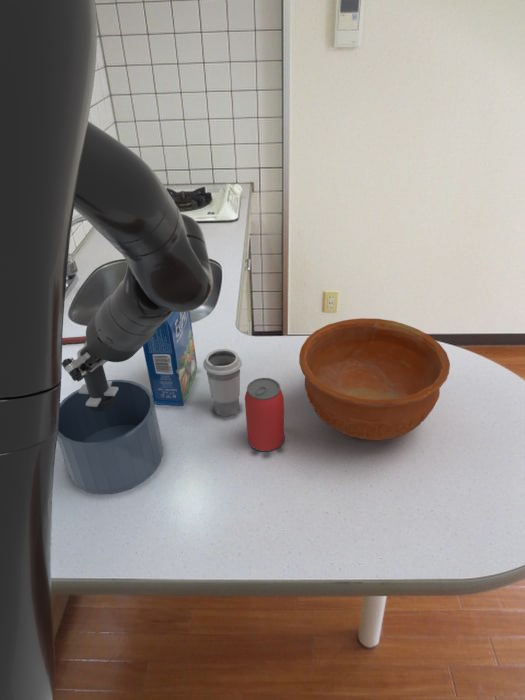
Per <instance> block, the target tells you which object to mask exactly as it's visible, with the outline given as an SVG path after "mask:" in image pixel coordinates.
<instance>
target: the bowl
mask: <svg viewBox="0 0 525 700" xmlns="http://www.w3.org/2000/svg"><path fill="white" fill-rule="evenodd" d="M298 360H299V361H298V362H299V363H298V364H299V367H300V371H301V373H302V374H303V376H304V389H305V393H306V396H307V399H308V401H309V404H310V405H311V407H312V408H313V409H314V412H315V413H316V414H317V416H318V417H319V418H320V420H322V421H323V422H324V423H325V424H326V425H328V426H329V427H331V428H333V429H334V430H336V431H339V432H340V433H341V434H344V435H346V436H348V437H352V438H356V439H361V440H366V441H367V440H368V441H383V440H387V439H392V438H394V439H395V438H398V437H401V436H404V435H407V434H409V433H410V432H412V431H414V430H415V429H416V428H418V426H420V425H421V423H423V422H424V421H425V420H426V419H427V417H428V416H429V415H430V413H431V412H432V411H433V409H435V408H434V407H435V406H436V405H437V402H438V400H439V398H440V394H441V393H440V392H441V390H440V389H441V387H442V386H443V385H444V383H445V382H446V381H447V380H448V377H449V374H450V370H451V362H450V359H449V356H448V353H447V351H446V350H445V348H444V347H443V346H442V345H441V344H440V343H439V342H438V341H437V340H436V339H434V338H433V337H432V336H431V335H429V334H428V333H426V332H424V331H422V330H420V329H418V328H415V327H413V326H411V325H409V324H406V323H402V322H398V321H395V320H390V319H383V318H365V317H363V318H362V317H361V318H360V317H359V318H351V319H345V320H340V321H335V322H333V323H328V324H326V325H324V326H322V327H321V328H318V329H317V330H315V331H314V332H313V333H311V334H310V335H309V336H308V337H307V338H306V339H305V341H304V343H303V344H302V345H301V347H300V351H299V358H298Z"/></svg>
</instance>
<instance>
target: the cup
mask: <svg viewBox="0 0 525 700" xmlns="http://www.w3.org/2000/svg"><path fill="white" fill-rule="evenodd" d="M242 364H243V362H242V360H241V358H240V356H239V354H238V353H237V352H236V351H234V350H232V349H229V348H217V349H214V350H212V351H210V352H208V353H207V354H206V356H205V358H204V360H203V364H202V365H203V368H204V370H205V371H206V376H207V381H208V386H209V390H210V391H209V392H210V396H211V398H212V401H213V402H212V403H213V407H214V411H215V413H216V414H217V415H219V416H220V417H230V416H233V415H235V414H236V413H238V411H239V410H240V394H241V367H242Z"/></svg>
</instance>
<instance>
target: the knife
mask: <svg viewBox="0 0 525 700" xmlns="http://www.w3.org/2000/svg"><path fill="white" fill-rule="evenodd" d="M85 342H86V335H85V336H84V335H82V336H69V337H62V345H65V344H67V345H68V344H81V343H82V344H83V343H85Z"/></svg>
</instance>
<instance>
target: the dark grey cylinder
mask: <svg viewBox="0 0 525 700" xmlns="http://www.w3.org/2000/svg"><path fill="white" fill-rule="evenodd" d="M81 349H82V348H80V349H79V350H78V351H77V353H78V352H79V351H80V350H81ZM83 380H84V383H85V384H84V383H83V384H82V385H81V387H80V388H78V389H79V391H78V392H79V393H80V394H88V395H87V396H86V401H87V402H86V406H88V407H89V409H90V410H92V411H96V412H99V411H105V410H107V409H109V408H111V407H112V406H113V405H114V404H115V402H116V398H115V394H116V393H117V391H118V390H119V389H118V387H111V385H112V381H107V380H108V379H107V376H106V372H105V367H104V365H103V364H102V365H101V366H100V367H99V368H97V369H96V370H94V371H93V372H89V373H88V374H87V375H86V376H85V377H84V378H83Z"/></svg>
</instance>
